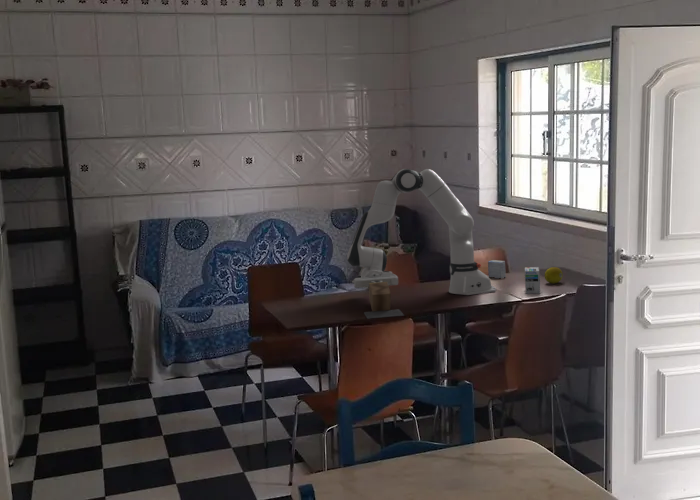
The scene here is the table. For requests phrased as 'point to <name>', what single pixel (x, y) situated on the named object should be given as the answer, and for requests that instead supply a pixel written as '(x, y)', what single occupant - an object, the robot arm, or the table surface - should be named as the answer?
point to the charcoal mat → (383, 313)
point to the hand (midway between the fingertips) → (378, 284)
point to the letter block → (379, 296)
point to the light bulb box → (532, 280)
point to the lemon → (553, 275)
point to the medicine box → (496, 269)
